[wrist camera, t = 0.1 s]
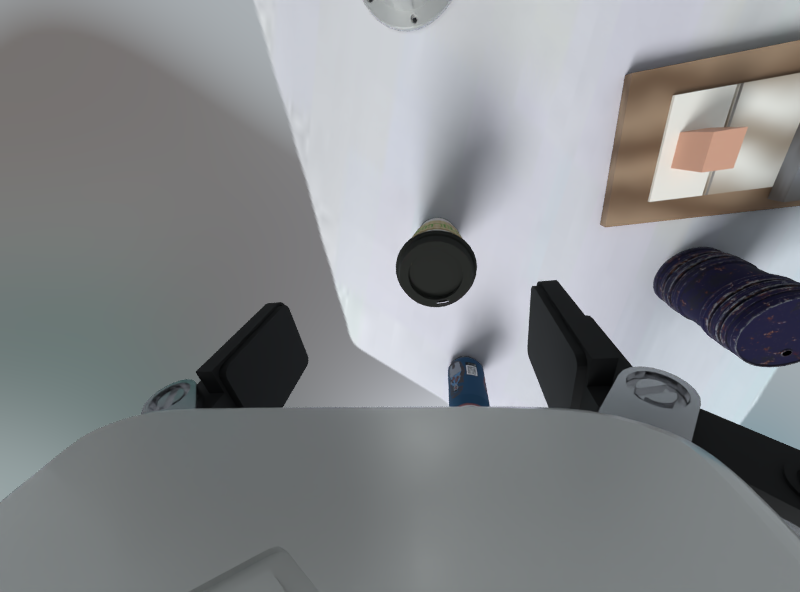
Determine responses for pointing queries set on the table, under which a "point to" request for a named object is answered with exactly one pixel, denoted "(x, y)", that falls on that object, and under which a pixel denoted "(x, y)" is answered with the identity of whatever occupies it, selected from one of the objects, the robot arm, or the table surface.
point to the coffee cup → (436, 264)
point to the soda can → (467, 384)
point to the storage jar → (735, 304)
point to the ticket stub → (695, 143)
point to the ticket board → (751, 107)
